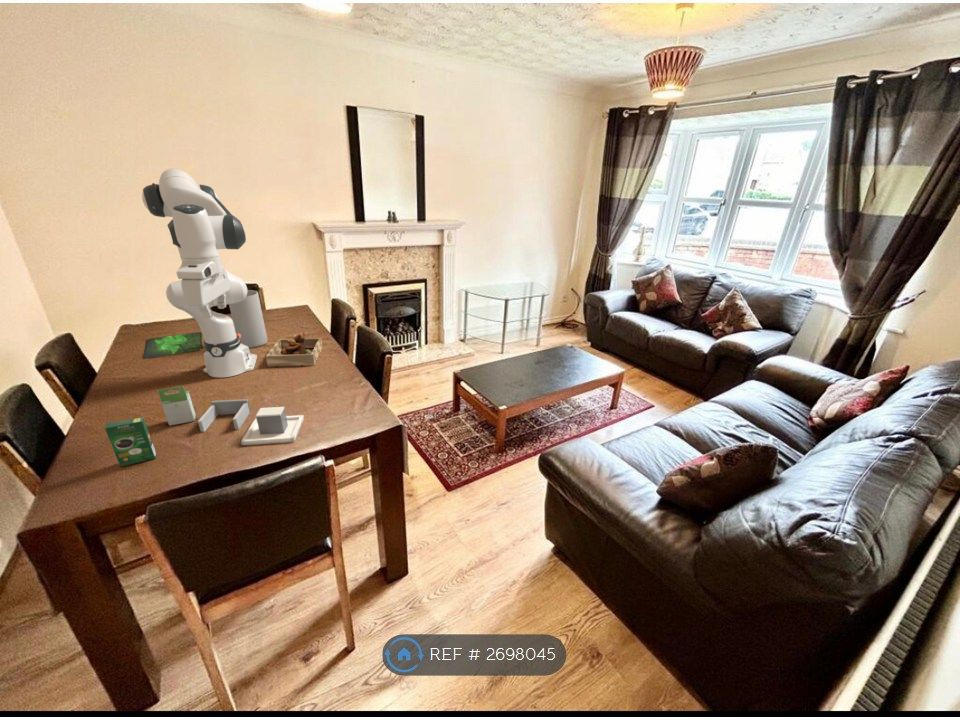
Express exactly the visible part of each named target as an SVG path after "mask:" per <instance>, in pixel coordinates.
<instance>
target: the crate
mask: <svg viewBox="0 0 960 720" xmlns="http://www.w3.org/2000/svg"><path fill="white" fill-rule="evenodd" d="M288 340H289V341H290V340H293V338H279V339H278V340H277V341H276V342H275V344H274V345H273V346H272V347H271V348H270V350H269V351H268V353H266V356H265V361H266V365H267V368H268V367H269V368H273V367H274V368H275V366H278V367H297V366H298V367H300V366H301V365H303V366H315V365H316V362H317V361H316V360H318V359H317V358H319V357H318V356H320V355H321V352H322V350H323V348H324V347H323V340H322V337H311V338H308V337H307V338H306V337H305V340H304V344H305V348H314V349H312V350H311V352H312V353H311V354H293V355H282V354H281V353H280V352H281V351H282V349H284V348H285V347H286V346H287V345H288V344H289V343H288ZM322 347H323V348H322ZM321 349H322V350H321ZM279 353H280V354H279ZM301 367H302V366H301Z"/></svg>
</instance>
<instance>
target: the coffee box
mask: <svg viewBox="0 0 960 720" xmlns="http://www.w3.org/2000/svg"><path fill="white" fill-rule="evenodd" d="M104 429H105V432H106V435H107V437H108V440H109V443H110V445H111V447H112V451H113V452H114V455H115V457H116V460H117V462H118V464H119V466H120V467H125V466H131V465H135V464H137V463H143V462H146V461H151V460H155V459H156V457H157V452H156V449H155V446H154V443H153V440H152V438H151V435H150V432H149V429H148V425H147V423H146V420H145V417H144V416H139V417H134V418H130V419H124V420H117V421H112V422H107V423H106V425H105V427H104Z"/></svg>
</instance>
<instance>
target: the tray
mask: <svg viewBox="0 0 960 720" xmlns="http://www.w3.org/2000/svg"><path fill="white" fill-rule="evenodd" d="M286 418H287V423H288V426H287V428H286V430H285V432H284V433H278V434H263V435H260V431H259V427H258V423H257V418H256V417H255V419H254V420H253V422H252V423H251V424H250V427H249V428H248V429H247V431H246V432H245V435H244V436H243V437H242V439H241V441H240V443H241V446H255V445H268V444H269V445H270V444H282V443H285V444H286V443H294V442H296V440H297V437H298V435H299V433H300V430H301V428H302V425H303V422H304V419H305V415H304V414H301V415H297V414H296V415H286Z"/></svg>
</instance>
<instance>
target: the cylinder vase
mask: <svg viewBox="0 0 960 720" xmlns="http://www.w3.org/2000/svg"><path fill="white" fill-rule="evenodd" d="M228 306H229V310H230V314H231V319H232V320H233V323H234V328H235V332H236V334H241V338H239V340H240V342H241V343H242V344H244V345H246V346H248V347H249V349H250V348H254V349H255V348H259V347H261V346H265V344H267V343H268V342H269V341H268V339H269V338H268V335H267V329H266V326H265V325H266V324H265V320H264V315H263V310H262V306H261V301H260V295H259V292H258V291H257V290H252V289H247V296H246V298H245V299H244V300H243V301H240V302H237V303H233V304H228Z"/></svg>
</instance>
